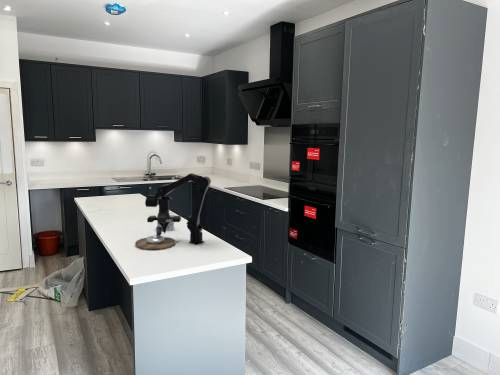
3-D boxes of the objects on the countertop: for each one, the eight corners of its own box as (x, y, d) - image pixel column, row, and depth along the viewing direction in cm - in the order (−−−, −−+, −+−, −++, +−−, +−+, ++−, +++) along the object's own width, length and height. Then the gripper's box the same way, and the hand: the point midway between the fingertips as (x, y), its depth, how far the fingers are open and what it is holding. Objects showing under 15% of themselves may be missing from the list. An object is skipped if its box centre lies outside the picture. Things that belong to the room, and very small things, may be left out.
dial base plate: (182, 243, 221) (182, 240, 220) (156, 252, 201) (156, 249, 201) (154, 237, 231) (154, 234, 231) (126, 246, 212) (126, 243, 212)
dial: (162, 244, 211) (162, 232, 210) (144, 243, 211) (144, 232, 210) (167, 237, 225) (167, 226, 224) (151, 236, 225) (151, 226, 224)
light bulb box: (157, 231, 244) (157, 215, 242) (157, 229, 250) (156, 213, 249) (174, 230, 247) (174, 214, 245) (173, 228, 253) (173, 212, 252)
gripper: (144, 210, 213) (145, 236, 215) (177, 209, 213) (178, 236, 216) (149, 206, 224) (150, 231, 226) (180, 206, 224) (181, 231, 227)
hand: (164, 233), depth 223 cm, fingers closed
